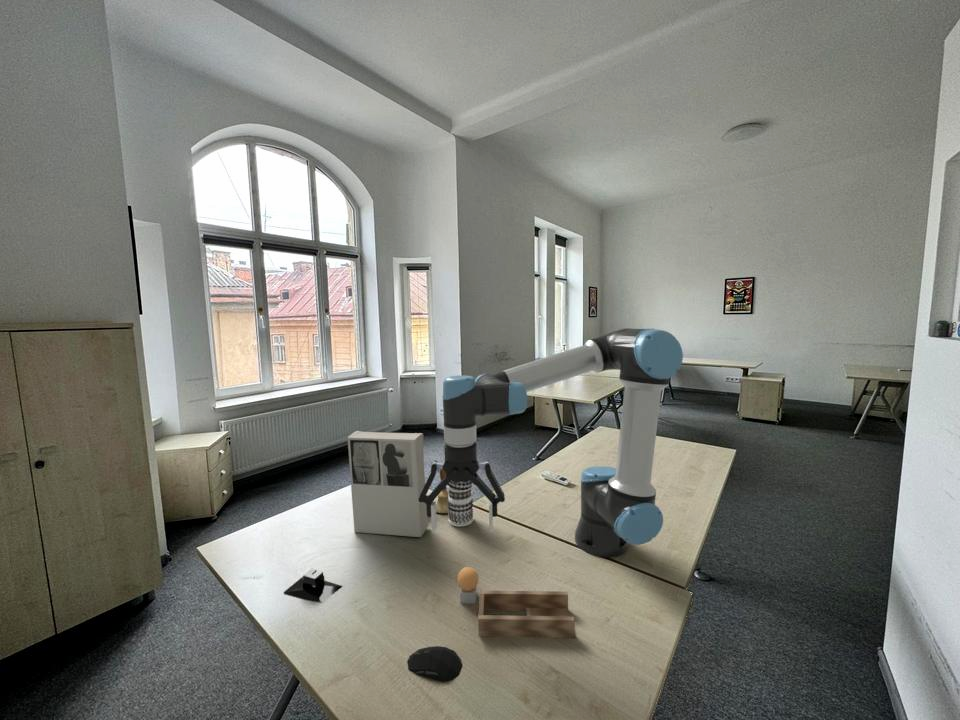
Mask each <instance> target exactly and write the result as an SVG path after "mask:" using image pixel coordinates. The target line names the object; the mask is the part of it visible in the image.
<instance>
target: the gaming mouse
mask: <svg viewBox="0 0 960 720" xmlns="http://www.w3.org/2000/svg"><path fill="white" fill-rule="evenodd" d="M406 664H407V668H408V671H409V672H411V673H414V674H415V675H417V676H421V677H422V678H425V679H429V680H431V681H436V682H441V683H447V682H451V681H453V680H455V679H456V678H458V677H459V675H460V674H461V672H462V669H463V663H462V659H461V658H460V656H459V655H458V653H457V652H456V650H453V649H451V648H449V647H446V646H438V645H435V646H428V647H427V646H426V647H423V648H419V649H417V650H416V651H414V652H413V653H412V654H411V655H409V657H408V659H407V660H406Z"/></svg>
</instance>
